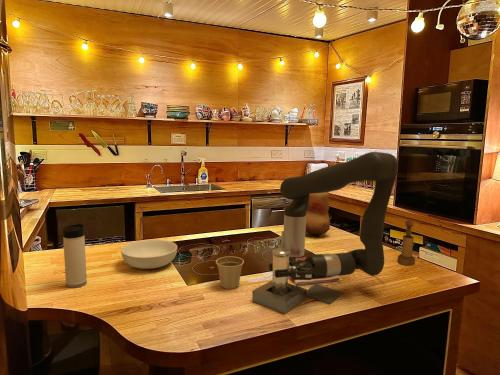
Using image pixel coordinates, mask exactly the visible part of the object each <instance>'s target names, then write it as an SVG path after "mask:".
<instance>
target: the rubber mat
mask: <svg viewBox="0 0 500 375" xmlns="http://www.w3.org/2000/svg"><path fill="white" fill-rule="evenodd" d="M343 294H344V291H340V290H336V289H334V288H331V287H327V286H326V285H325V286H324V285H322V284H315V285H311V287H309V288H307V292H306V298H309V299H312V300H316V301H318V302H322V303H325V304H327V305H331V304H332V303H333V302H335V301H337V299H338V298H340V297H341V296H343Z"/></svg>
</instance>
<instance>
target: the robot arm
mask: <svg viewBox="0 0 500 375" xmlns="http://www.w3.org/2000/svg"><path fill="white" fill-rule="evenodd" d="M398 171H399V162H398V160H397V157H396V156H394V154H392V153H390V152H388V153H387V152H382V151H381V152H380V151H370V152H367V153H364V154H361V155H359V156H357V157H356V158H354V159H351V160H349V161H345V162H341V163H335V164H332V165H328V166H324V167H322V168H319V169H317V170H314V171H311V172H309V173H306V174H304V175H300V176H294V177H293V176H292V177H291V176H290V177H288V178H285V179H284V180H283V181H282V182H281V184H280V187H279V192H280V194H281V196H282V197H283V198H284V199H286V200H291V203H290V204H288V205H287V206H285V207H284V210H283V211H284V212H283V214H284V215H283V231H281V239H280V248H284V249H288V250H289V251H290V254H289V266H288V270H287V269H280V270H275V277H276V278H279V277H288V279H290V278H292V280H312V279H320V278H330V277H335V276H338V277H340V276H342V277H343V276H349V275H352V274H354V273H355V270H361V271H362V272H363V273H365V274H367V275H368V276H372V277H373V276H374V277H375V276H378V275H379V274H380V273H381V272H382V271H383V269H384V266H385V252H384V244H383V237H384V236H383V235H384V229H385V220H386V214H387V209H388V207H389V203H390V199H391V195H392V192H393V189H394V185H395V182H396V178H397V175H398ZM363 181H364V182H367V181H369V182H370V181H371V182H375V183H374V191H373V194H372V196H371V198H370V201H369V202H368V205H367V206H366V208H365V210H364V212H363V215H362V218H361V223H360V224H361V225H360V232H359V233H360V234H359V241H360V242H361V243H362V244H363V246H364V248H358V249H357V248H356V249H353V250H349V251H347V252H341V253H339V252H338V253H316V254H308V255H306V256H305V251H306V250H305V248H306V247H305V246H306V231H305V230H306V212H307V210H308V205H309V195H310V194H312V193H325V192H329V193H330V192H331V193H332V192H334V191H336V192H337V191H339V190H341V189H344V188H345V187H346V186H348V185H349V184H351V183H355V182H363ZM302 257H306V259H305V260H304V261H303V260H295V259H296V258H302ZM290 266H291V268H290ZM268 270H269V271H270V272H273V262H272V263H269V264H268ZM292 280H291V281H292Z"/></svg>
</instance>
